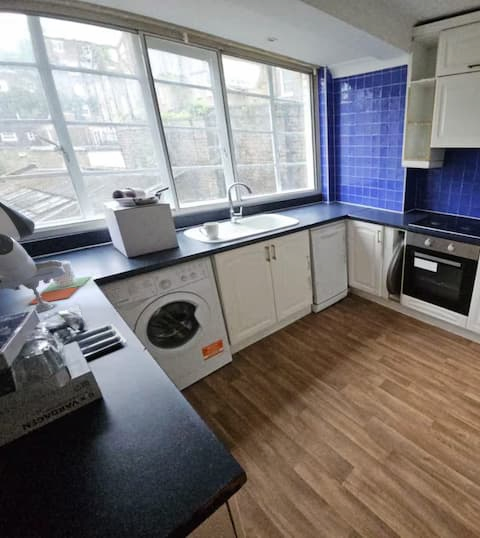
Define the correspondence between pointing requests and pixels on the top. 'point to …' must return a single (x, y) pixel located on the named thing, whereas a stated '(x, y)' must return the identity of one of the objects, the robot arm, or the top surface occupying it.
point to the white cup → (66, 275)
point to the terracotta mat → (55, 295)
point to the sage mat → (78, 284)
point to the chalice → (38, 297)
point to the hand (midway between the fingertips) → (32, 284)
